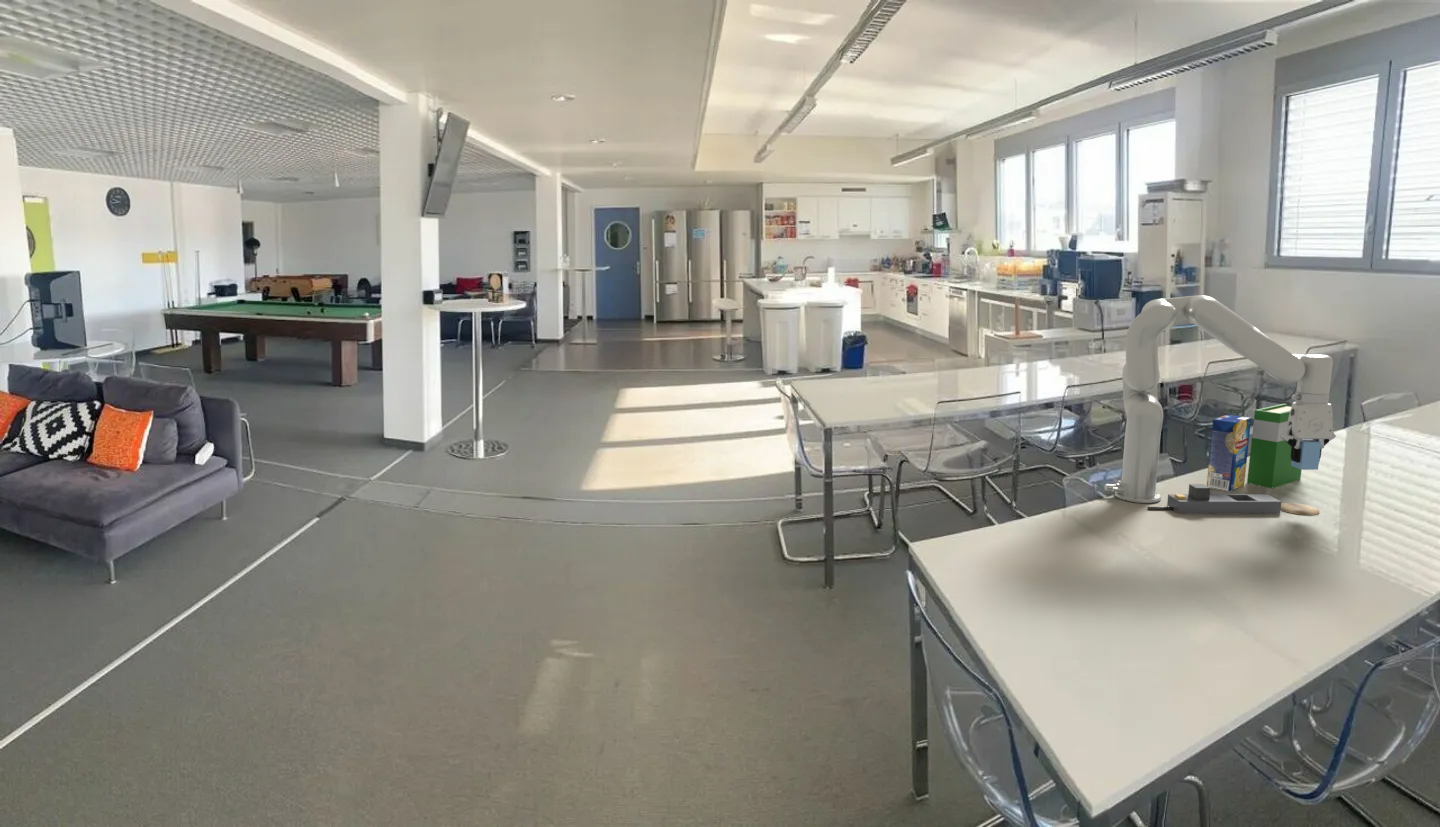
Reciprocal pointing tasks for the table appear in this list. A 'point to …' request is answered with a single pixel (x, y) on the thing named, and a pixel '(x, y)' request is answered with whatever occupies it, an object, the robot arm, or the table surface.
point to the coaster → (1299, 509)
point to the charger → (1308, 455)
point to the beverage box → (1228, 452)
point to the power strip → (1220, 502)
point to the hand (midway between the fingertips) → (1305, 460)
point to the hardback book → (1271, 449)
